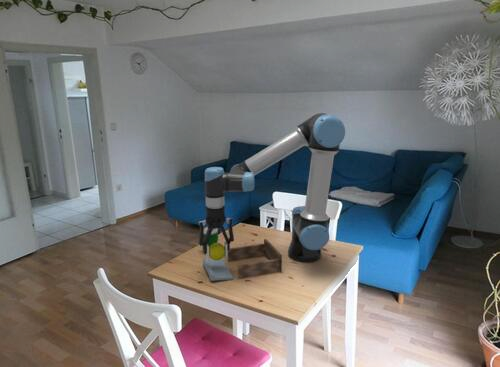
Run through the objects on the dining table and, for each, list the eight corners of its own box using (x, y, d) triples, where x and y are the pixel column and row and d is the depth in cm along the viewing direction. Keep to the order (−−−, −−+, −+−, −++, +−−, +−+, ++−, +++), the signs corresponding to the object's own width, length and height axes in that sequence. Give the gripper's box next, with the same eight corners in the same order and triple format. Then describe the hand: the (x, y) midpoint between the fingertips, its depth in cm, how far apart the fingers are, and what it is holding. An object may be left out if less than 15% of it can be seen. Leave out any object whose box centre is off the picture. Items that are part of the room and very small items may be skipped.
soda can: (216, 256, 170) (215, 231, 167) (200, 255, 172) (199, 230, 169) (220, 249, 177) (219, 226, 175) (205, 248, 179) (204, 225, 176)
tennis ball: (209, 263, 149) (209, 247, 147) (207, 256, 156) (206, 241, 154) (226, 261, 151) (226, 246, 149) (223, 254, 157) (223, 239, 156)
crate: (266, 255, 171) (266, 238, 169) (281, 272, 154) (281, 255, 152) (227, 261, 165) (226, 244, 163) (238, 280, 148) (238, 261, 146)
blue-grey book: (223, 256, 163) (203, 257, 160) (233, 274, 148) (211, 275, 145) (222, 261, 164) (202, 262, 161) (233, 279, 148) (211, 280, 145)
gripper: (236, 200, 154) (237, 251, 160) (188, 205, 148) (191, 258, 154) (241, 206, 147) (242, 259, 153) (192, 211, 141) (194, 266, 147)
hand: (217, 258), depth 153 cm, fingers closed on tennis ball, 7 cm apart
